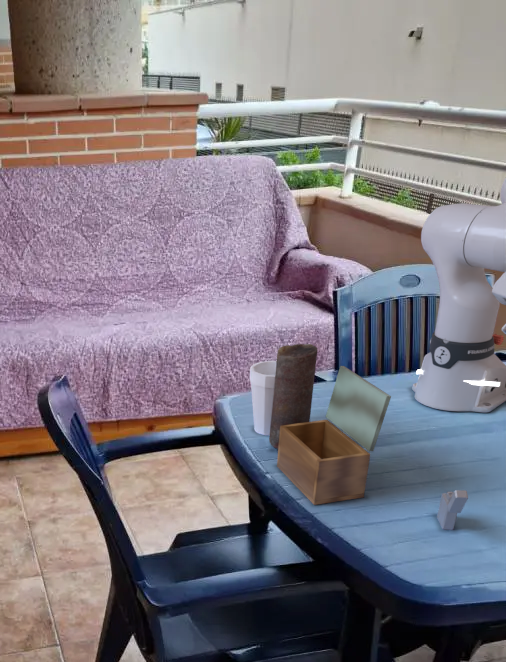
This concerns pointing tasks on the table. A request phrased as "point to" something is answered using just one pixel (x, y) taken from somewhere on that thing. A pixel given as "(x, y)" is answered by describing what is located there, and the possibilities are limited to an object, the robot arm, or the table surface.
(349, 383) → the pale green flat panel
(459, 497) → the lighter
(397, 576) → the table surface
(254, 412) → the foam cup
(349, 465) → the box
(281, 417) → the dark brown rough cylinder
